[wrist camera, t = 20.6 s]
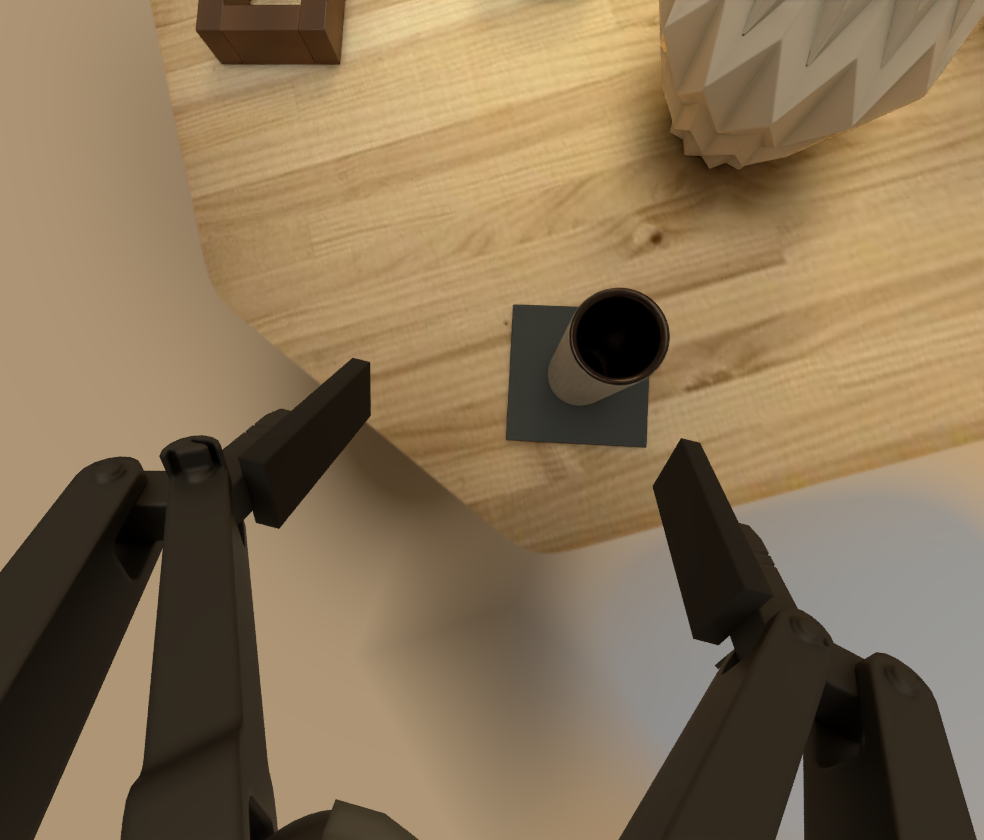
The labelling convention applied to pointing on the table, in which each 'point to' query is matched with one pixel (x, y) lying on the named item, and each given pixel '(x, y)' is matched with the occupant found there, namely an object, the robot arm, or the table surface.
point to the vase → (798, 68)
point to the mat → (542, 411)
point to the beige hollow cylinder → (608, 346)
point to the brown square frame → (272, 31)
